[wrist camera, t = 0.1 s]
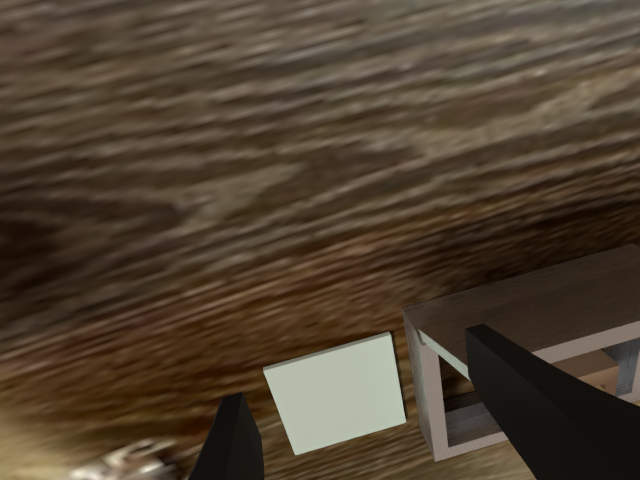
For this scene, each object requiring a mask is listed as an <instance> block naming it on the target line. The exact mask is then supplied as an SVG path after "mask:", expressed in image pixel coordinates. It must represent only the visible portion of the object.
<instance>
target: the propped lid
mask: <svg viewBox="0 0 640 480" xmlns="http://www.w3.org/2000/svg"><path fill="white" fill-rule="evenodd" d="M483 323H484V324H485V325H487V326H489V327H490V328H492V329H493V330H495V331H497V332H498V333H500V334H501V335H503V336H505V337H506V338H508V339H509V340H511V341H513V342H514V343H516V344H518V345H519V346H521V347H522V348H524V349H526V350H527V351H529V352H531V353H532V354H534V355H536V356H538V357H539V358H541V359H543V360H545V361H546V362H548V363H554V362H557V361H560V360H564V359H567V358H571V357H574V356H577V355H581V354H584V353H588V352H591V351H594V350H598V349H601V348H605V347H608V346H611V345H615V344H618V343H622V342H625V341H628V340H632V339H635V338H638V337H640V266H637V267H634V268H630V269H627V270H623V271H620V272H616V273H613V274H609V275H606V276H602V277H599V278H595V279H591V280H588V281H584V282H581V283H577V284H574V285H570V286H567V287H563V288H560V289H556V290H553V291H549V292H546V293H542V294H539V295H535V296H532V297H528V298H525V299H521V300H518V301H514V302H511V303H507V304H504V305H500V306H497V307H493V308H490V309H486V310H483V311H479V312H476V313H472V314H469V315H465V316H462V317H458V318H455V319H451V320H448V321H444V322H441V323H437V324H434V325H430V326H426V327H423V328H419V329H418V330H419V331H417V335H418V339H419V341H420V343H421V345H422V346H424V345H428V346H429V347H430V348H432V349H433V350H434V351H435V352H436V353H438V354H439V355H440V356H441V357H442V358H444V359H445V360H446V361H447V362H448V363H450V364H451V365H452V366H453V367H454V368H456V369H457V370H458V371H459V372H460V373H461V374H463V375H464V376H465V377H466V378H467V379H469V380H470V378H469V376H468V365H467V351H466V336H465V328H469V327H472V326H476V325H479V324H483ZM470 381H471V380H470Z"/></svg>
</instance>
